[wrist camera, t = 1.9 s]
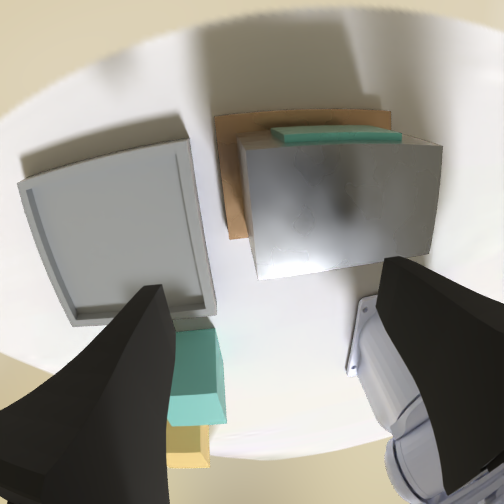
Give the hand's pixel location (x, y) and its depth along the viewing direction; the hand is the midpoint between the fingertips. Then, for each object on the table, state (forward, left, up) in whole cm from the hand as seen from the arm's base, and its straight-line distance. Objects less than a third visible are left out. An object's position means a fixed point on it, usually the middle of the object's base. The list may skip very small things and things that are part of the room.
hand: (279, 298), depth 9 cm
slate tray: (-1, +9, -9) cm, 13 cm away
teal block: (-11, +5, -9) cm, 16 cm away
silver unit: (+2, -4, -9) cm, 10 cm away
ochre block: (-20, +8, -9) cm, 24 cm away
